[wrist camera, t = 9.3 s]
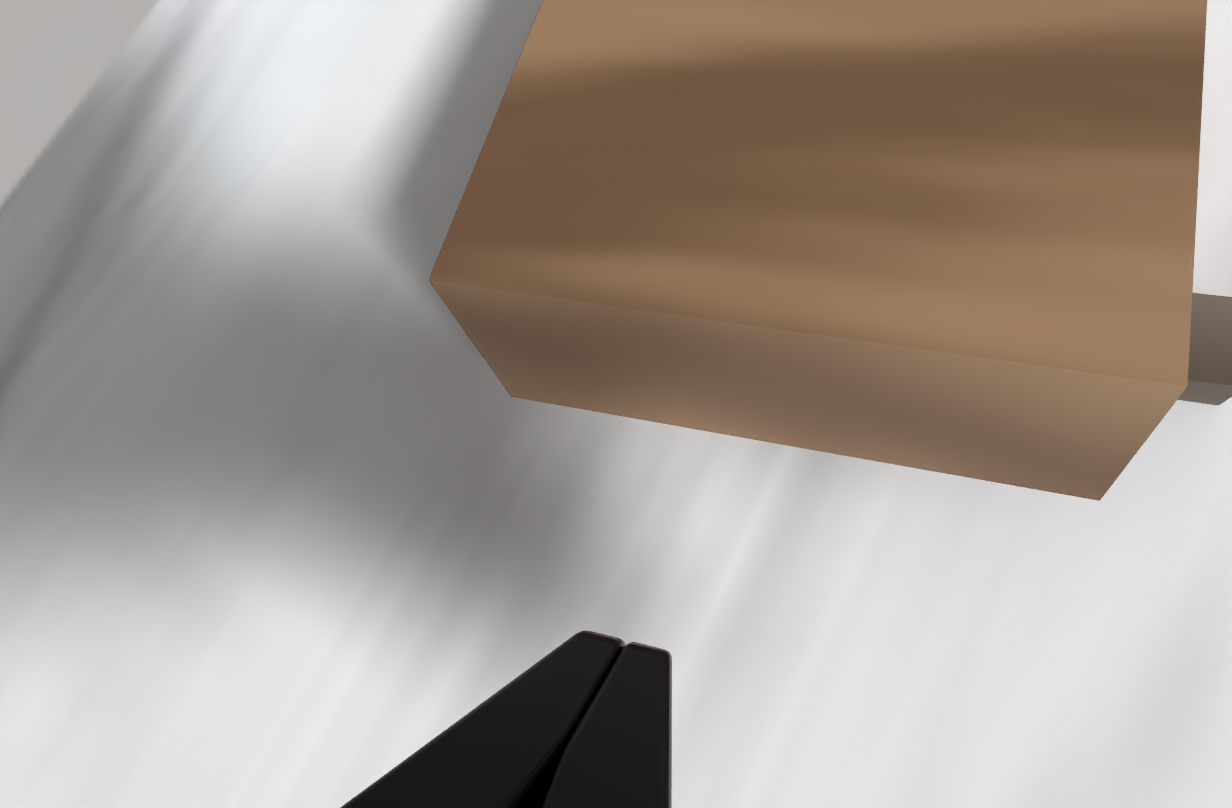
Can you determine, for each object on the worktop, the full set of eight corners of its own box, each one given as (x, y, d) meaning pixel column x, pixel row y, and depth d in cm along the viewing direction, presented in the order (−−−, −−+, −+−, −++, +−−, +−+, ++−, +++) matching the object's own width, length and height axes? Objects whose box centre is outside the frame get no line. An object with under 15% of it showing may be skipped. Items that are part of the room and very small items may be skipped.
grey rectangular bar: (1218, 405, 16) (1245, 387, 15) (487, 302, 20) (464, 282, 19) (1227, 323, 16) (1254, 299, 15) (504, 238, 20) (482, 215, 19)
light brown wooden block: (1187, 385, 11) (1216, -184, 14) (428, 279, 14) (612, -169, 17) (1099, 500, 14) (1140, 20, 18) (511, 396, 17) (649, 3, 21)
